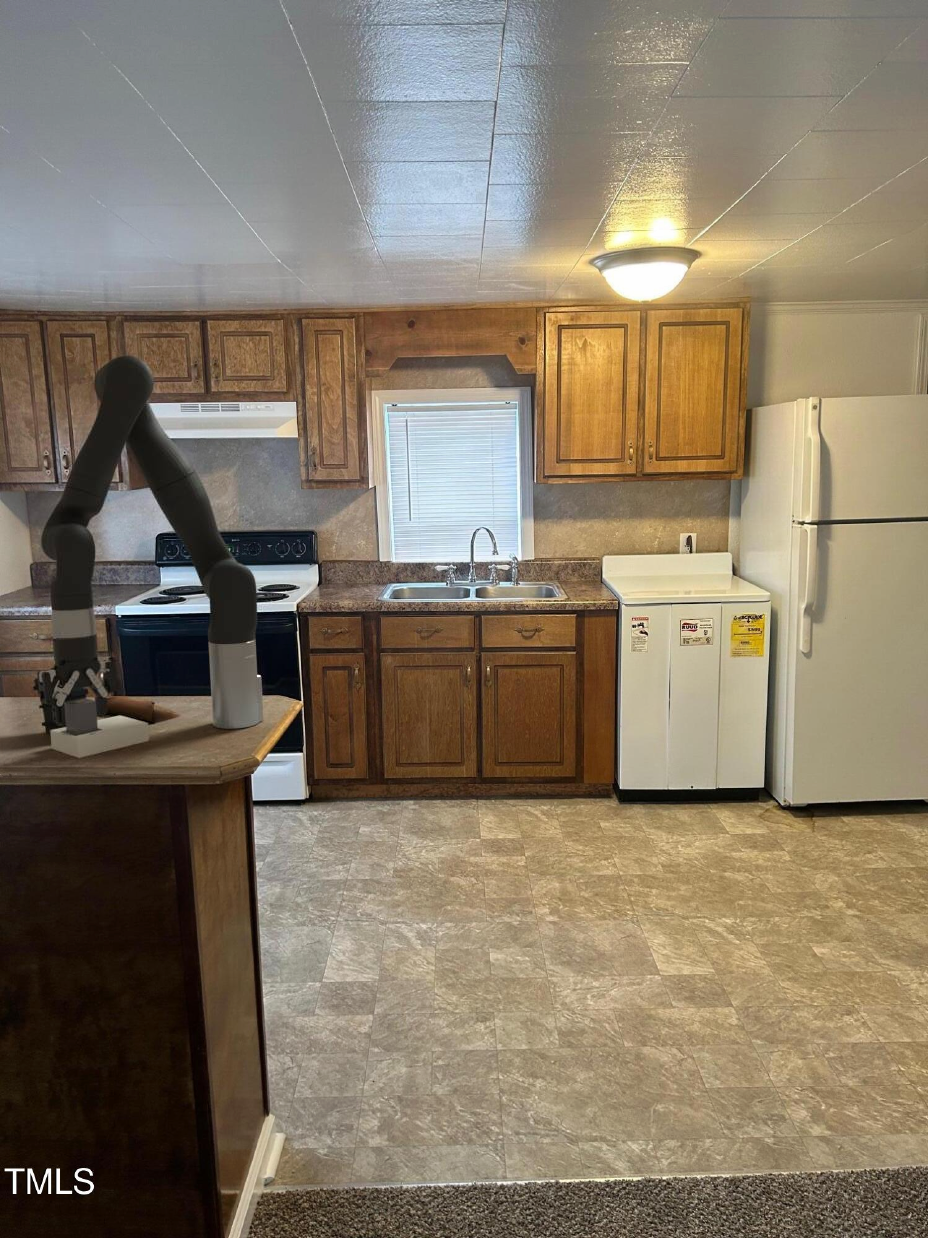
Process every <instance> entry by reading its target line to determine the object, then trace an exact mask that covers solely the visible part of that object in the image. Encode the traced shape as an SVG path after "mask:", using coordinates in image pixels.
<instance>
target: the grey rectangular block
mask: <svg viewBox="0 0 928 1238" xmlns="http://www.w3.org/2000/svg"><path fill="white" fill-rule="evenodd" d="M86 698H87V697H86ZM86 698H84V699H78V700H73V701H68V702H64V705H65V718H66V731H67V734H70V735H74V736H77V735H82V734H86V733H91V732H95V731H98V725H97V720H98V717H97V711H96V701H95V700H93V699H89V698H87V699H86Z"/></svg>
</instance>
